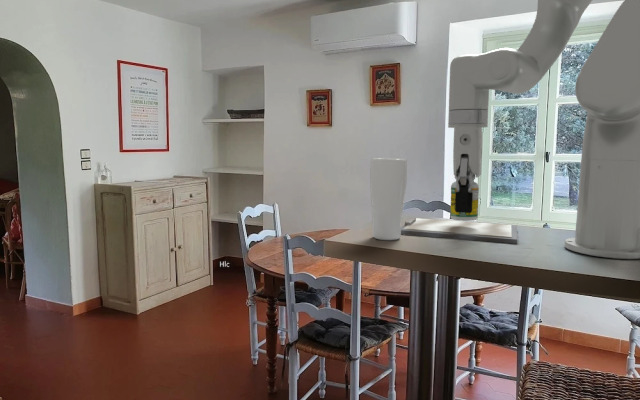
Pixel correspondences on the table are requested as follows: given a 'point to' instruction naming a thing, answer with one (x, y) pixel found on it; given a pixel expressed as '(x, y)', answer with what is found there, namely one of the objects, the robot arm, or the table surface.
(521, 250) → the table surface
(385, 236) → the drinking glass
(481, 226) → the notepad
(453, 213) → the supplement bottle
